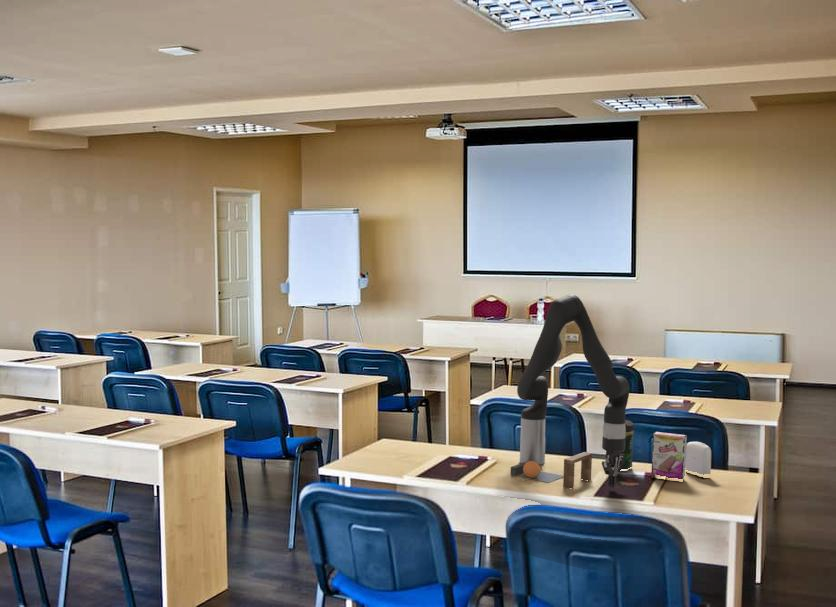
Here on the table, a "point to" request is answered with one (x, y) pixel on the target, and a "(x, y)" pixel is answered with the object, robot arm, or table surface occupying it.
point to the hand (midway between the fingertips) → (612, 486)
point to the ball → (531, 469)
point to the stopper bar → (517, 469)
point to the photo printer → (698, 458)
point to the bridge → (569, 468)
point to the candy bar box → (669, 455)
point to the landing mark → (544, 477)
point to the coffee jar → (628, 445)
